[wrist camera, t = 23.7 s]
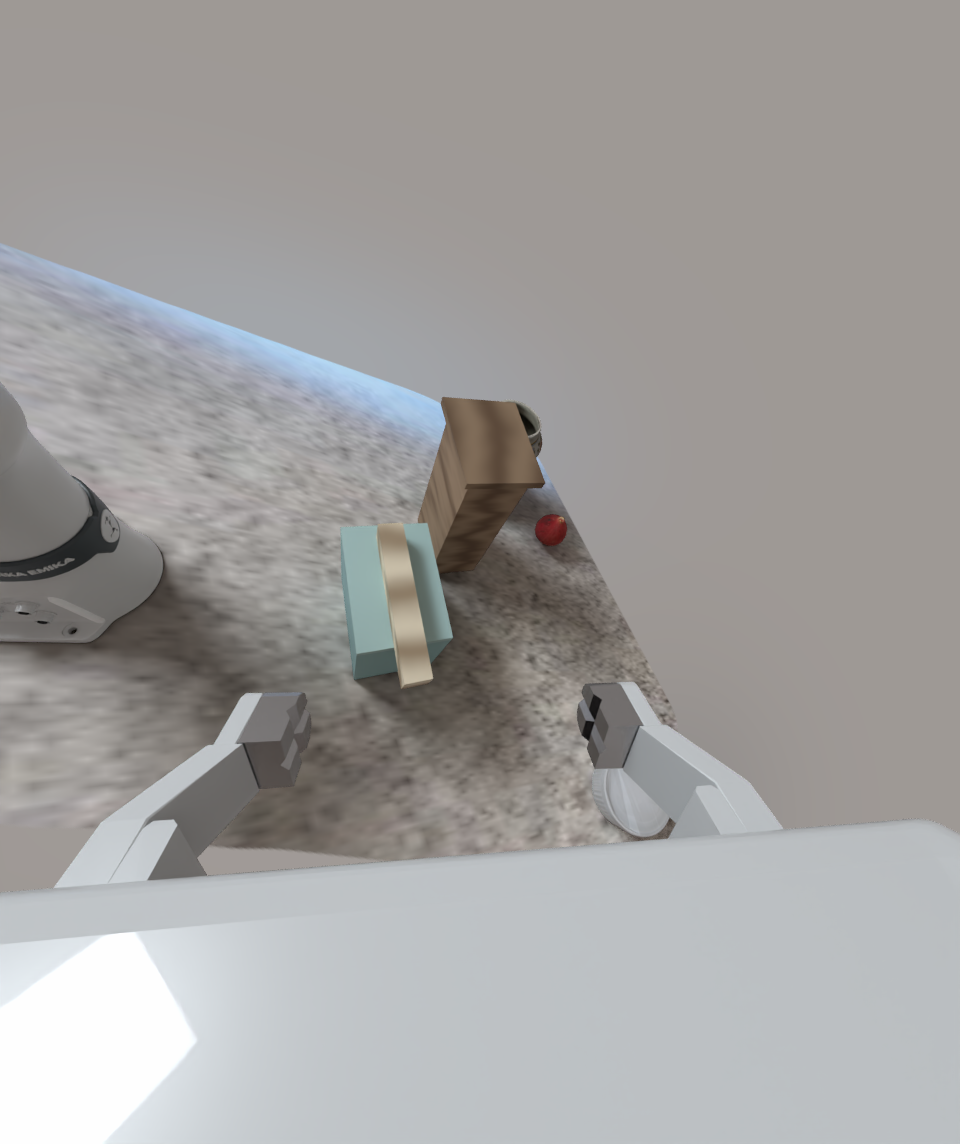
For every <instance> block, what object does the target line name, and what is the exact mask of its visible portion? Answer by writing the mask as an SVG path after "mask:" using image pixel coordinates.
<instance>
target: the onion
mask: <svg viewBox="0 0 960 1144" xmlns="http://www.w3.org/2000/svg"><path fill="white" fill-rule="evenodd" d="M566 532H567V526H566V523H565V519H564V517H560V516H559V515H554V514H550V515H546V516H544V517H543V518H541V519H540V520H539V521H538V522H537V524H536V528H535V533H536V537H537V538H538V539H539V541H540V542H542V543H543V544H545V545H549V546H554V545H557V544H559V543H561V542H562V541H563V539H564V538H565V536H566Z"/></svg>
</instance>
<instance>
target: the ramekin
mask: <svg viewBox="0 0 960 1144" xmlns="http://www.w3.org/2000/svg"><path fill="white" fill-rule="evenodd" d="M592 791H593V796H594V799H595V802H596V805H597V806H598V808H599V810H600V812H601V813H602V814H603V815H604V817H606V818H607V820H609V821H610V822H611V823H613V824H614V825H616V826H618V827H620V828H621V829H622V830H624V831H625V832H627V833H629V834H631V835H633V836H637V837H651V836H654V835H656V834H658V833H659V832H660V831H661V830H662V829H663V828H664V827H665V826H666V824H667V822H668V820H669V818H670V817H669V816H668V815H667V814H666V813H665V812H664V811H663V810H662V809H661V808H660V807H659V806H658V805H657V804H656V803H655V802H654V801H653V800H652V799H651V798H650V797H649V796H648V795H647V794H646V793H645V792H644V791H643V790H642V789H641V788H640V787H639V786H638V785H637V784H636V783H635V782H634V781H633V780H632V779H631V778H630V777H629V776H628V775H627V774H626V773H625V772H624V771H623V768H617V769H595V771H594V774H593V779H592Z"/></svg>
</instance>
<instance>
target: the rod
mask: <svg viewBox="0 0 960 1144" xmlns="http://www.w3.org/2000/svg"><path fill="white" fill-rule="evenodd" d="M376 539H377V546H378V552H379V558H380V564H381V570H382V576H383V583H384V589H385V595H386V601H387V607H388V613H389V619H390V626H391V632H392V638H393V644H394V650H395V656H396V663H397V669H398V675H399V681H400V687H401V689H406V688H411V687H415V686H420V685H425V684H428V683H429V682H430V681H431V680H433V674H432V669H431V664H430V659H429V654H428V649H427V644H426V639H425V633H424V628H423V623H422V618H421V613H420V608H419V603H418V598H417V592H416V587H415V582H414V577H413V572H412V567H411V562H410V557H409V551H408V546H407V541H406V536H405V531H404V526H403V523H389V524H378V526H377V534H376Z"/></svg>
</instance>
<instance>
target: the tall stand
mask: <svg viewBox="0 0 960 1144" xmlns="http://www.w3.org/2000/svg"><path fill="white" fill-rule="evenodd" d="M441 406H442V410H443V413H444V417H445V421H446V426H445V429H444V433H443V436H442V439H441V443H440V446H439V450H438V453H437V456H436V460H435V463H434V466H433V470H432V473H431V477H430V480H429V483H428V487H427V490H426V493H425V497H424V500H423V504H422V507H421V510H420V514H419V517H418V523H427V524H428V528H429V532H430V537H431V541H432V546H433V550H434V555H435V559H436V564H437V568H438V572H439V574H440V573H450V572H460V571H470V570H474V568H475V567H476V565H477V564H478V562H479V561H480V559H481V558H482V556H483V555H484V553H485V552H486V550H487V549H488V547H489V546H490V544H491V543H492V541H493V540H494V538H495V537H496V535H497V534H498V532H499V531H500V529H501V528H502V526H503V525H504V523H505V522H506V520H507V519H508V517H509V516H510V514H511V512H512V511H513V509H514V508H515V506H516V505H517V503H518V502H519V500H520V499H521V497H522V496H523V494H524V493H525V491H526V490H527V488H542V487H543V485H544V484H545V481H544V478H543V476H542V473H541V470H540V468H539V465H538V462H537V460H536V457H535V454H534V451H533V449H532V446H531V443H530V441H529V438H528V435H527V433H526V430H525V427H524V425H523V422H522V419H521V417H520V414H519V411H518V409H517V406H516V403H512V402H499V401H485V400H472V399H460V398H447V397H443V398H442V401H441Z"/></svg>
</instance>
